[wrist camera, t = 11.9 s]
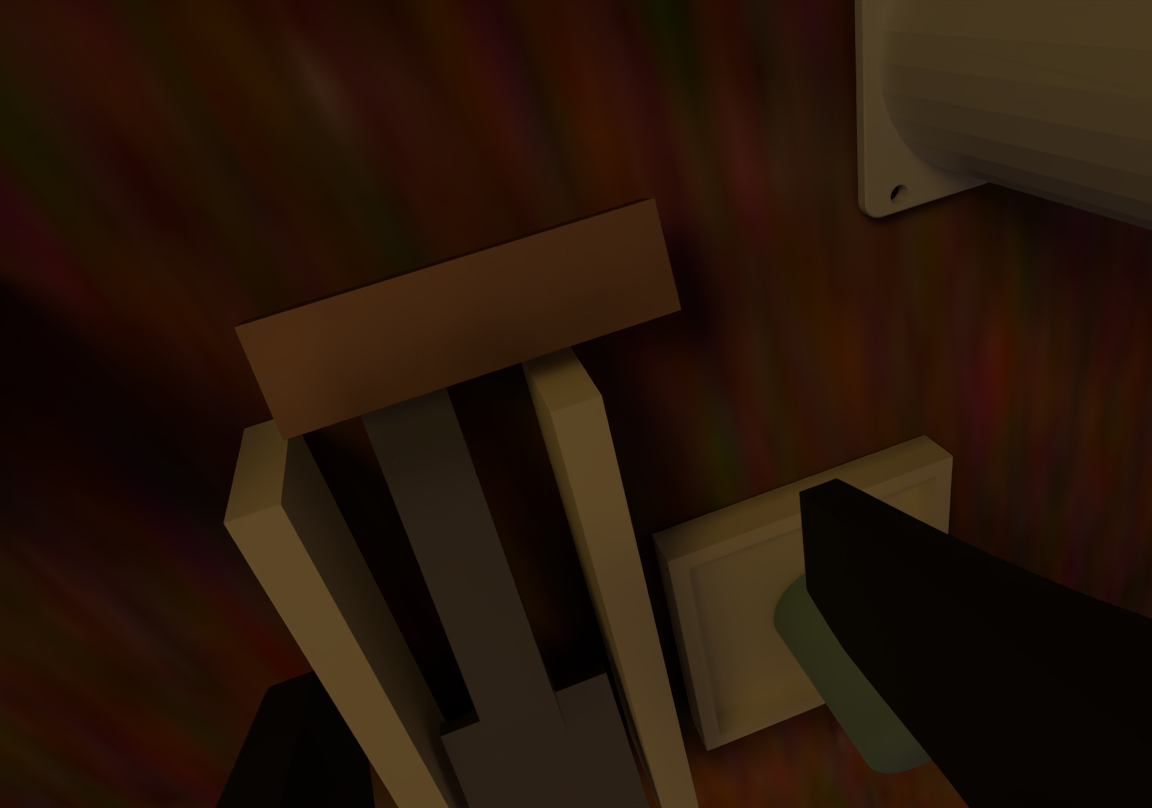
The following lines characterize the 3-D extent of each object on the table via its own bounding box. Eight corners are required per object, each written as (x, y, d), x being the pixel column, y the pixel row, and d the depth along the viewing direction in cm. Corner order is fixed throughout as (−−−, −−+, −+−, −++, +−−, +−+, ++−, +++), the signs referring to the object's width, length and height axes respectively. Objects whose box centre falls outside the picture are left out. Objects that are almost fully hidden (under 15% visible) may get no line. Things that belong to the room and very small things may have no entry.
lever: (608, 200, 20) (654, 198, 16) (756, 768, 26) (816, 866, 22) (266, 304, 19) (229, 329, 15) (501, 873, 24) (517, 995, 21)
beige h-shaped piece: (557, 327, 20) (601, 395, 17) (660, 728, 29) (702, 824, 26) (244, 428, 19) (223, 523, 16) (454, 810, 28) (469, 922, 25)
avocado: (838, 542, 26) (948, 666, 21) (889, 586, 28) (999, 708, 24) (753, 617, 27) (842, 753, 22) (809, 655, 29) (901, 785, 24)
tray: (924, 434, 26) (952, 456, 24) (917, 631, 31) (940, 656, 30) (651, 534, 24) (667, 561, 23) (692, 720, 30) (707, 751, 28)
